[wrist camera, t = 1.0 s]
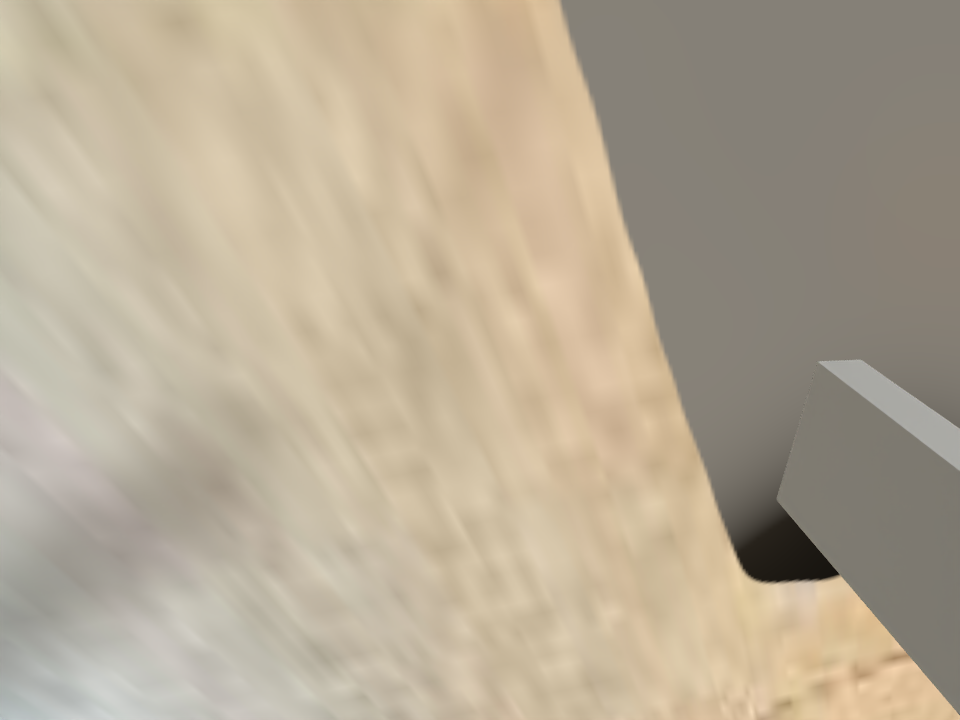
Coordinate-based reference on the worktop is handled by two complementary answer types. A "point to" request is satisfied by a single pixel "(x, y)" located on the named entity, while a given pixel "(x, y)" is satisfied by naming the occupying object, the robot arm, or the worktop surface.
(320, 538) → the worktop surface
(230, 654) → the worktop surface
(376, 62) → the worktop surface
